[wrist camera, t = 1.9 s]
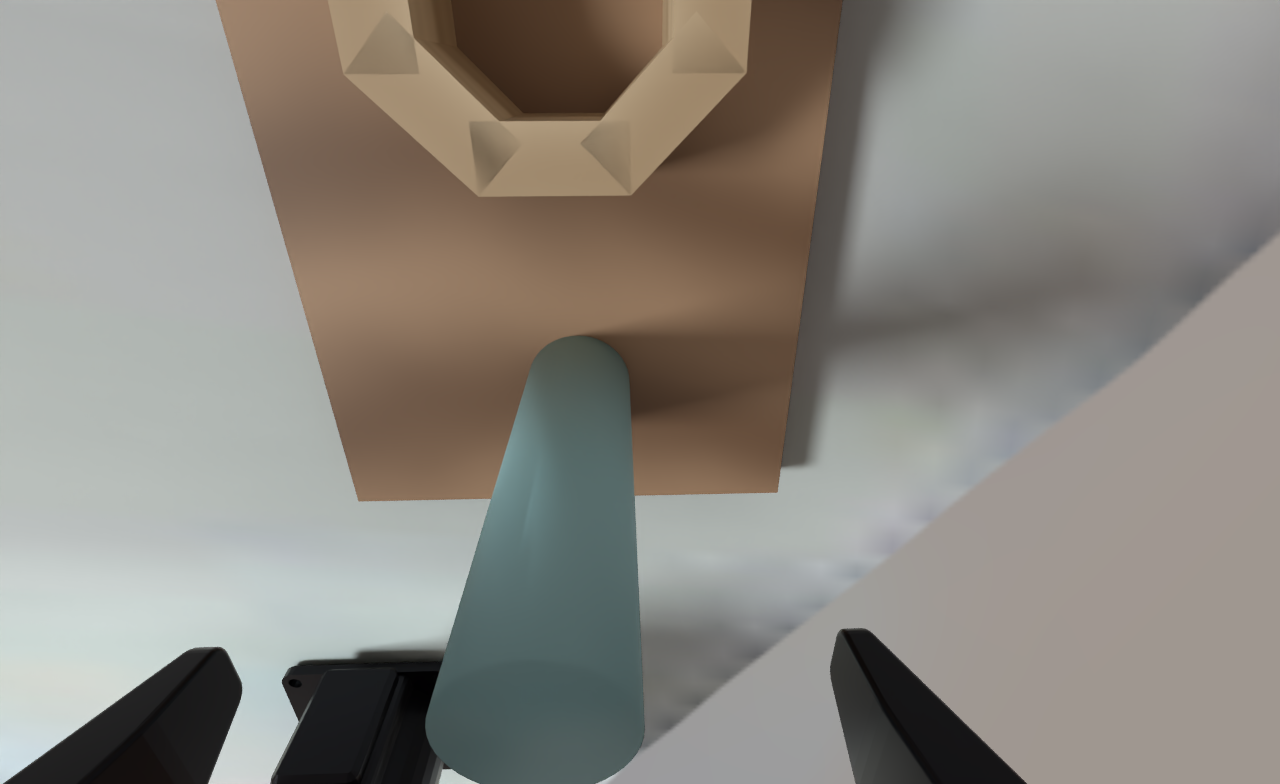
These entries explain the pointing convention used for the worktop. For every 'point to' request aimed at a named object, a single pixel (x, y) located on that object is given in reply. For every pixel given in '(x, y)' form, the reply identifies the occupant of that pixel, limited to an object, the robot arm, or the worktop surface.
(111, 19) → the worktop surface
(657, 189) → the board
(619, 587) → the dowel
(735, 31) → the bead
